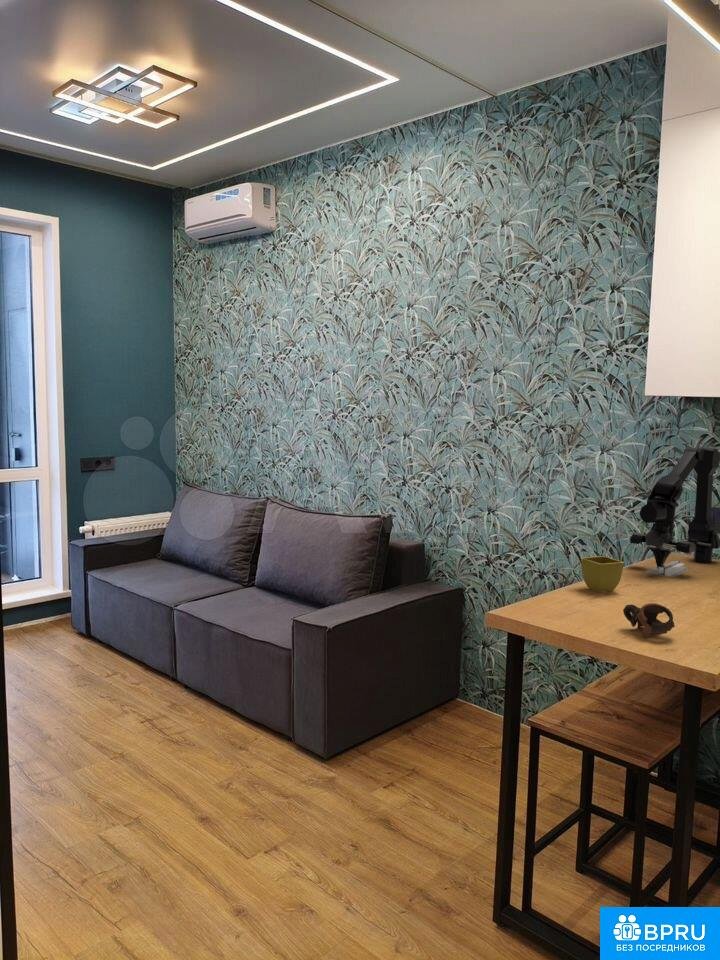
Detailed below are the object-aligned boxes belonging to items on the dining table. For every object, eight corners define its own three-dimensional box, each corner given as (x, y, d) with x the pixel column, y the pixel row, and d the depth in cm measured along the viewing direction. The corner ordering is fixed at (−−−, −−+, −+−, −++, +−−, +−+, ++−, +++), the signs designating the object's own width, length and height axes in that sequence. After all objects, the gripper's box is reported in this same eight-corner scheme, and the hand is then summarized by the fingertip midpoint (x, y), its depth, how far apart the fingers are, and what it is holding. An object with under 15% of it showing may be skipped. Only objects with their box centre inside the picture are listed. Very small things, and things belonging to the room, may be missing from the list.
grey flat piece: (663, 567, 248) (664, 558, 248) (691, 572, 242) (691, 563, 241) (643, 575, 236) (644, 565, 236) (672, 580, 230) (672, 571, 230)
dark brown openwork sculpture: (674, 632, 181) (682, 609, 176) (661, 658, 175) (668, 634, 170) (625, 611, 187) (632, 588, 182) (611, 635, 181) (617, 612, 176)
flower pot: (578, 587, 219) (580, 557, 218) (601, 585, 222) (604, 555, 221) (598, 595, 211) (600, 564, 210) (622, 592, 214) (625, 562, 213)
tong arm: (674, 566, 244) (675, 560, 244) (680, 567, 243) (681, 561, 243) (657, 572, 234) (658, 566, 234) (663, 574, 233) (664, 567, 233)
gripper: (624, 518, 236) (619, 566, 238) (685, 528, 223) (679, 579, 225) (639, 515, 244) (634, 562, 246) (698, 524, 231) (693, 574, 233)
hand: (659, 569), depth 237 cm, fingers closed
